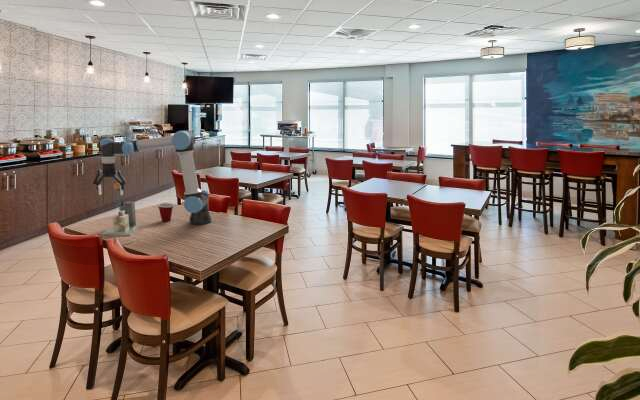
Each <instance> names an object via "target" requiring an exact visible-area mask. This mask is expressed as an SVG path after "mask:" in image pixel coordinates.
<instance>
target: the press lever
mask: <svg viewBox="0 0 640 400" xmlns="http://www.w3.org/2000/svg"><path fill="white" fill-rule="evenodd" d="M120 185H121V184H120V183H119V182H117V183H114V185H113V188H114V189H115V190H116V193H117V194H116V195H117V198H118V202H119V209H118V211H119V212H120V211H122V212H123V211H124V200H123V195H120Z"/></svg>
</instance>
